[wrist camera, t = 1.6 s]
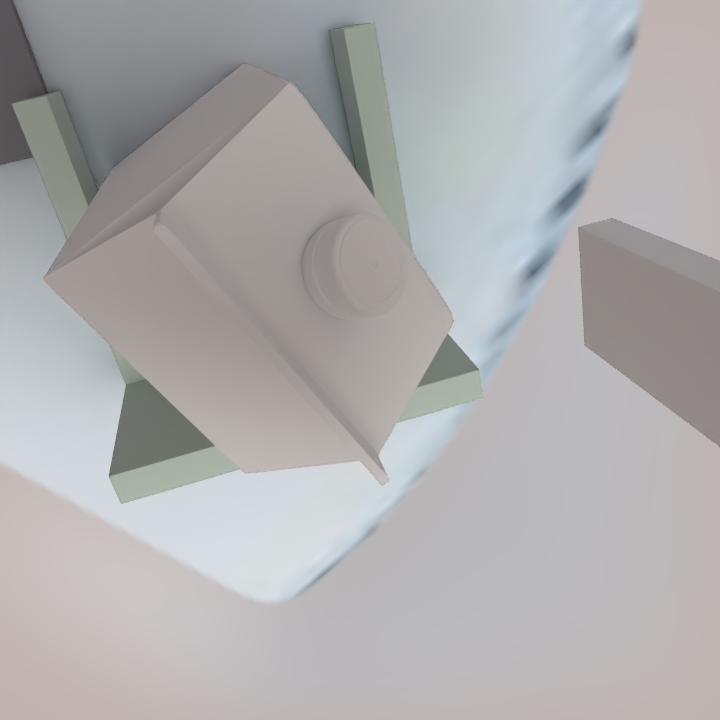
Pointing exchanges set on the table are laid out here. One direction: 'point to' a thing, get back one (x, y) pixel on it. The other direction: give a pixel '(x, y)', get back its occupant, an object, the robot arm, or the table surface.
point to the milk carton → (257, 281)
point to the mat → (15, 83)
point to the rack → (141, 399)
